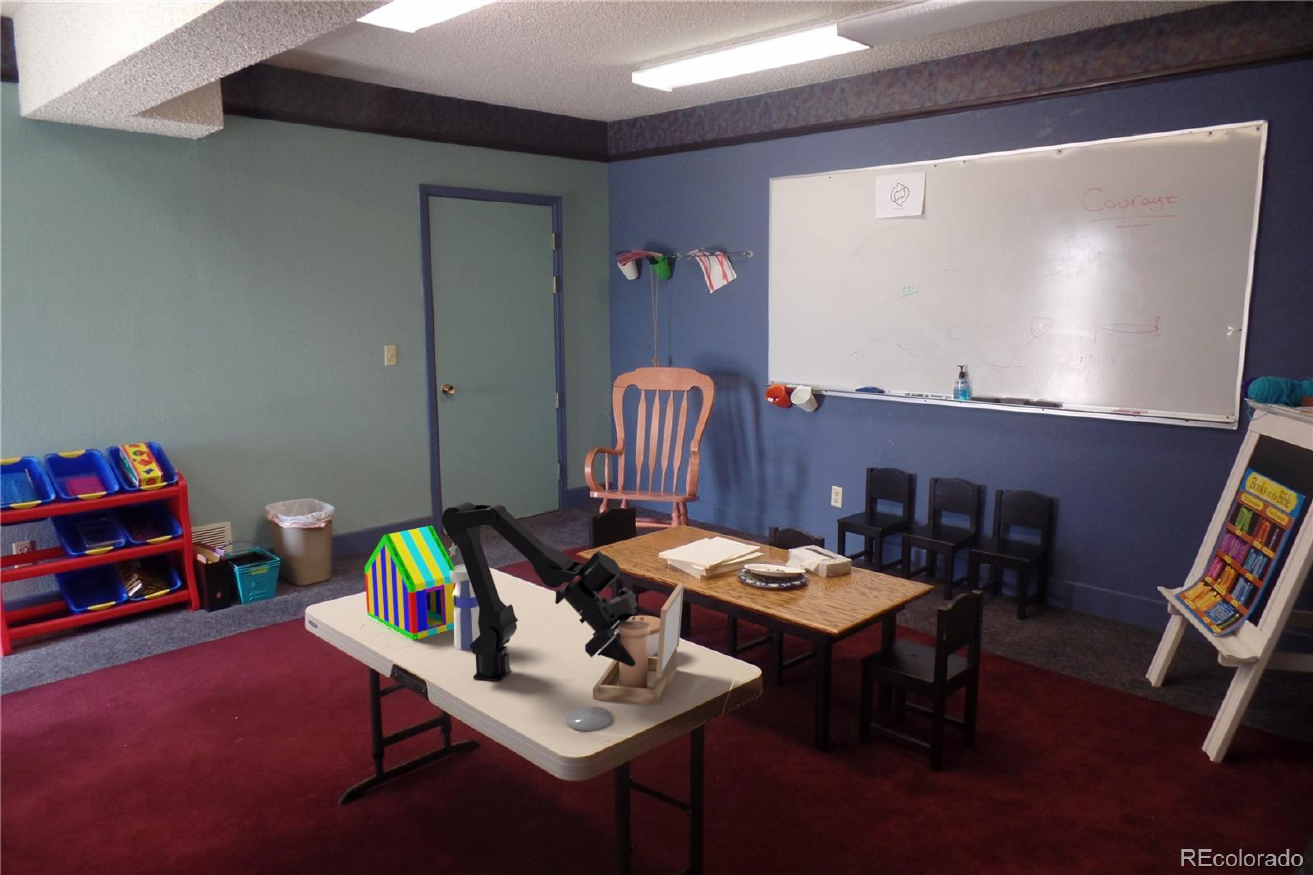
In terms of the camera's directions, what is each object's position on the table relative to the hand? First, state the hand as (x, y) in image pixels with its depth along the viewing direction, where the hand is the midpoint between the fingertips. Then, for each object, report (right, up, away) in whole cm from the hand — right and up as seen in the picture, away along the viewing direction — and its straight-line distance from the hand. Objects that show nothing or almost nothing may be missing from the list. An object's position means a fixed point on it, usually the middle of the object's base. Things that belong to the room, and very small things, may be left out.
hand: (639, 659), depth 183 cm
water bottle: (-42, -4, +29) cm, 51 cm away
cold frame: (-1, -7, +4) cm, 8 cm away
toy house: (-60, -2, +46) cm, 76 cm away
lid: (+6, -1, +2) cm, 6 cm away
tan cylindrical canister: (-1, -7, +1) cm, 7 cm away
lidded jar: (0, -5, +21) cm, 22 cm away
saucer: (-10, -9, -12) cm, 18 cm away
